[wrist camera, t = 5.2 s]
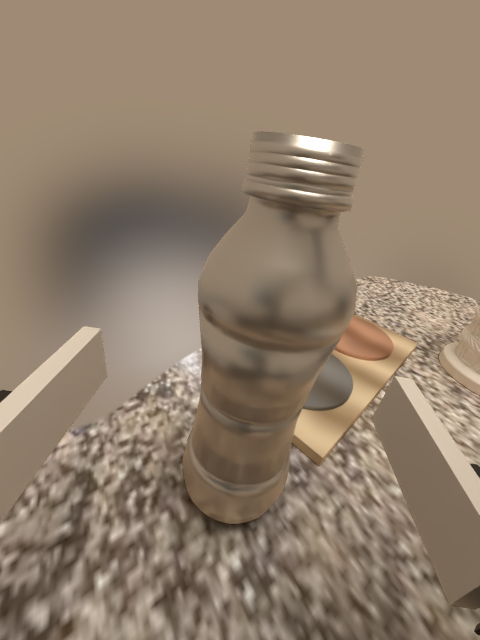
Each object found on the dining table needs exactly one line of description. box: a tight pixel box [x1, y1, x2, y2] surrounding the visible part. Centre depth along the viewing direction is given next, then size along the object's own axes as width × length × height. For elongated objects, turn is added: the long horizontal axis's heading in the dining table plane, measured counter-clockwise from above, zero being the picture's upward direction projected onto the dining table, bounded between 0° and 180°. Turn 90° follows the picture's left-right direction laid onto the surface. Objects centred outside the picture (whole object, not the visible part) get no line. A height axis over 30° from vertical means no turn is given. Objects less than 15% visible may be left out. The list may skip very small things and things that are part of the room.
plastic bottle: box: [182, 132, 364, 524], centre depth 14 cm, size 6×7×20 cm
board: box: [292, 314, 418, 466], centre depth 33 cm, size 26×13×2 cm, turn 135°
